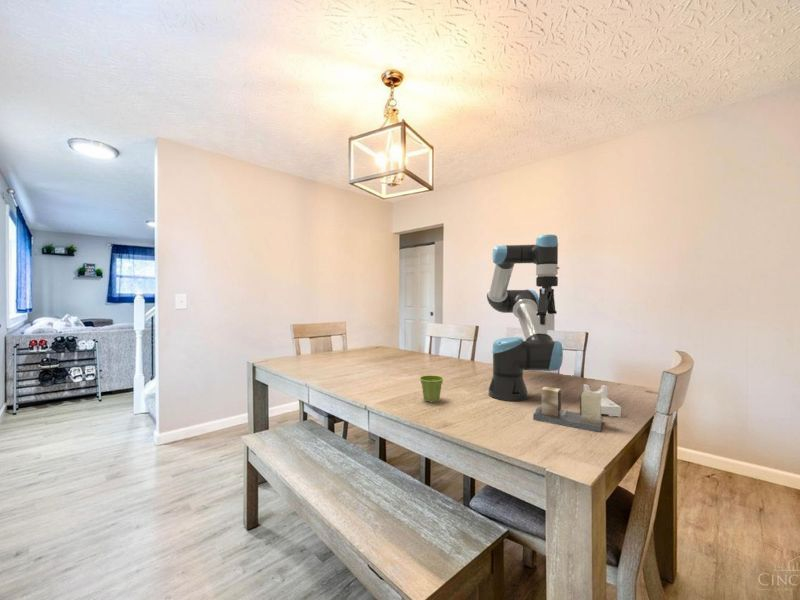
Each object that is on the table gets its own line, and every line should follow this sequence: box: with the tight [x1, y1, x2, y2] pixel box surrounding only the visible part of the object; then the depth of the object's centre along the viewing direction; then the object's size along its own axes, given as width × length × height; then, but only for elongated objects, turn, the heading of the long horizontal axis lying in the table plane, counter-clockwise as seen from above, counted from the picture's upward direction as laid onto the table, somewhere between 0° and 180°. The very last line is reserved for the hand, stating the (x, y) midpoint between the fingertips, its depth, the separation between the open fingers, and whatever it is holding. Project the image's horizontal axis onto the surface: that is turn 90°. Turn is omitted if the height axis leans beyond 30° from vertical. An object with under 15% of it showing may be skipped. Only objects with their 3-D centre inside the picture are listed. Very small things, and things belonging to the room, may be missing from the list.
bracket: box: [583, 383, 622, 418], centre depth 120 cm, size 13×7×8 cm, turn 170°
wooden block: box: [540, 386, 562, 416], centre depth 113 cm, size 5×4×8 cm
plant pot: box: [419, 374, 445, 402], centre depth 133 cm, size 9×9×9 cm
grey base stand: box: [532, 391, 604, 433], centre depth 110 cm, size 19×10×10 cm, turn 55°
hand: (547, 332), depth 129 cm, fingers open, 13 cm apart
